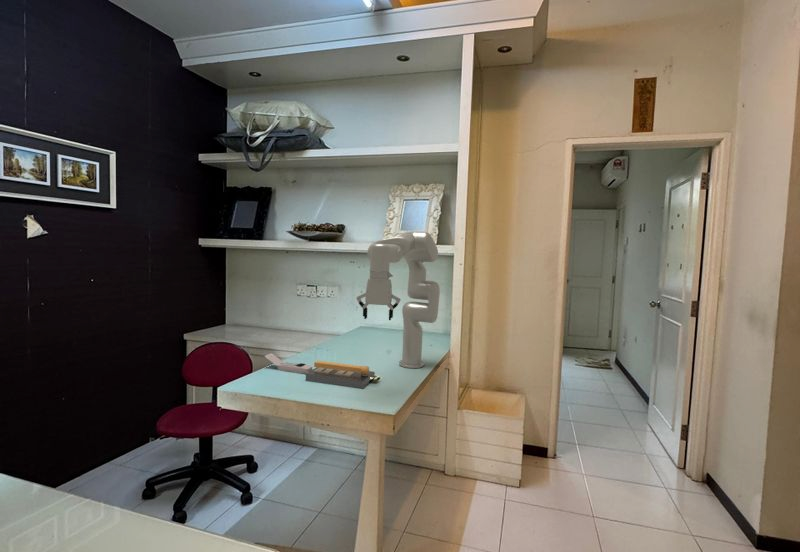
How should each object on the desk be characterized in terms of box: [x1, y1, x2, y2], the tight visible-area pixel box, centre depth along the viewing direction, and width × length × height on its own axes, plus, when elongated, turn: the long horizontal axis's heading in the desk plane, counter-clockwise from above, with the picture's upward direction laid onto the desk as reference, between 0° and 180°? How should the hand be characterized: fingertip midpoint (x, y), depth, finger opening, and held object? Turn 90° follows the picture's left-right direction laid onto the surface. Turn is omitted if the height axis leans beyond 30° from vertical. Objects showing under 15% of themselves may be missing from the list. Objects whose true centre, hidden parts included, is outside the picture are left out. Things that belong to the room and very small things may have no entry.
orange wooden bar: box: [313, 360, 370, 374], centre depth 173 cm, size 4×25×2 cm, turn 74°
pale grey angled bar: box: [263, 352, 313, 375], centre depth 184 cm, size 6×6×25 cm
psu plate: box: [305, 367, 376, 390], centre depth 174 cm, size 14×26×4 cm, turn 74°
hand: (377, 319), depth 158 cm, fingers open, 9 cm apart
